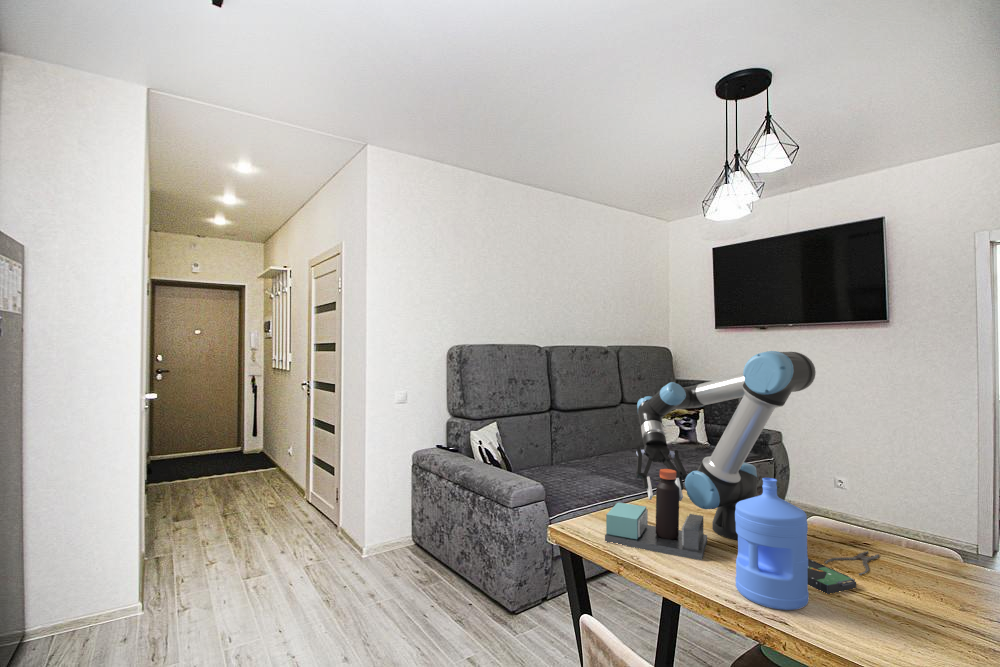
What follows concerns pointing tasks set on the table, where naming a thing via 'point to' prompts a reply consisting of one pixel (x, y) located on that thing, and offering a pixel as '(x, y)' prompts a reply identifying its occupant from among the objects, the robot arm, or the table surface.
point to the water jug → (772, 550)
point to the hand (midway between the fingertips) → (665, 498)
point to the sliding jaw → (626, 520)
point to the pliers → (859, 557)
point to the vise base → (670, 540)
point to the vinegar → (667, 505)
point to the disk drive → (828, 578)
